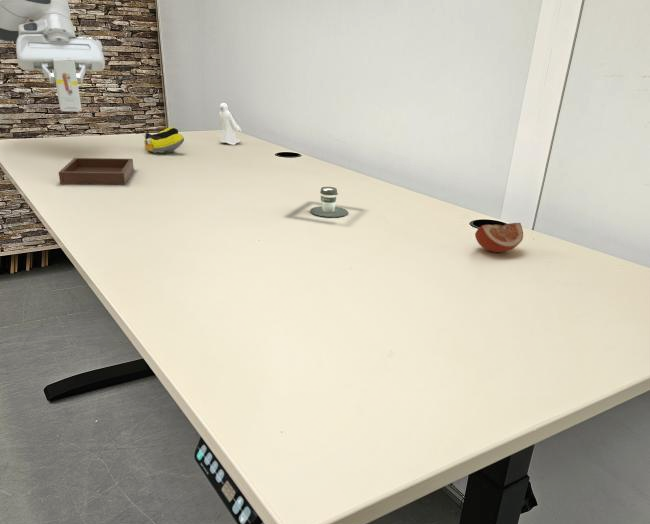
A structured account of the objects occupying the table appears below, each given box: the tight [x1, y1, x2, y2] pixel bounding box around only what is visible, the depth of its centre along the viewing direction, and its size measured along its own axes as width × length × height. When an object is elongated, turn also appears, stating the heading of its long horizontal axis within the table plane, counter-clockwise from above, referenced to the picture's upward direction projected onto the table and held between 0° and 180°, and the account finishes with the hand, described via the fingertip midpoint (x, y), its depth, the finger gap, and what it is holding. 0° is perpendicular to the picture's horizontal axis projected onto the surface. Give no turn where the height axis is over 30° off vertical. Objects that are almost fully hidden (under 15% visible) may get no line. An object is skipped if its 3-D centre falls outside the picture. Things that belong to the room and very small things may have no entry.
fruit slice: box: [474, 222, 524, 253], centre depth 102 cm, size 8×7×5 cm
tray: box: [58, 157, 135, 186], centre depth 136 cm, size 14×16×3 cm
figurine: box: [218, 102, 243, 146], centre depth 181 cm, size 8×8×12 cm
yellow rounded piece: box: [142, 126, 185, 154], centre depth 167 cm, size 15×6×10 cm
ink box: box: [53, 58, 83, 112], centre depth 147 cm, size 9×5×12 cm, turn 24°
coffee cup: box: [309, 186, 349, 218], centre depth 118 cm, size 12×12×5 cm
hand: (66, 81), depth 146 cm, fingers closed on ink box, 5 cm apart
